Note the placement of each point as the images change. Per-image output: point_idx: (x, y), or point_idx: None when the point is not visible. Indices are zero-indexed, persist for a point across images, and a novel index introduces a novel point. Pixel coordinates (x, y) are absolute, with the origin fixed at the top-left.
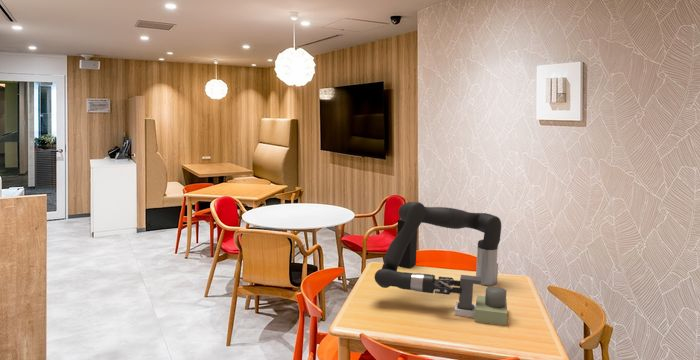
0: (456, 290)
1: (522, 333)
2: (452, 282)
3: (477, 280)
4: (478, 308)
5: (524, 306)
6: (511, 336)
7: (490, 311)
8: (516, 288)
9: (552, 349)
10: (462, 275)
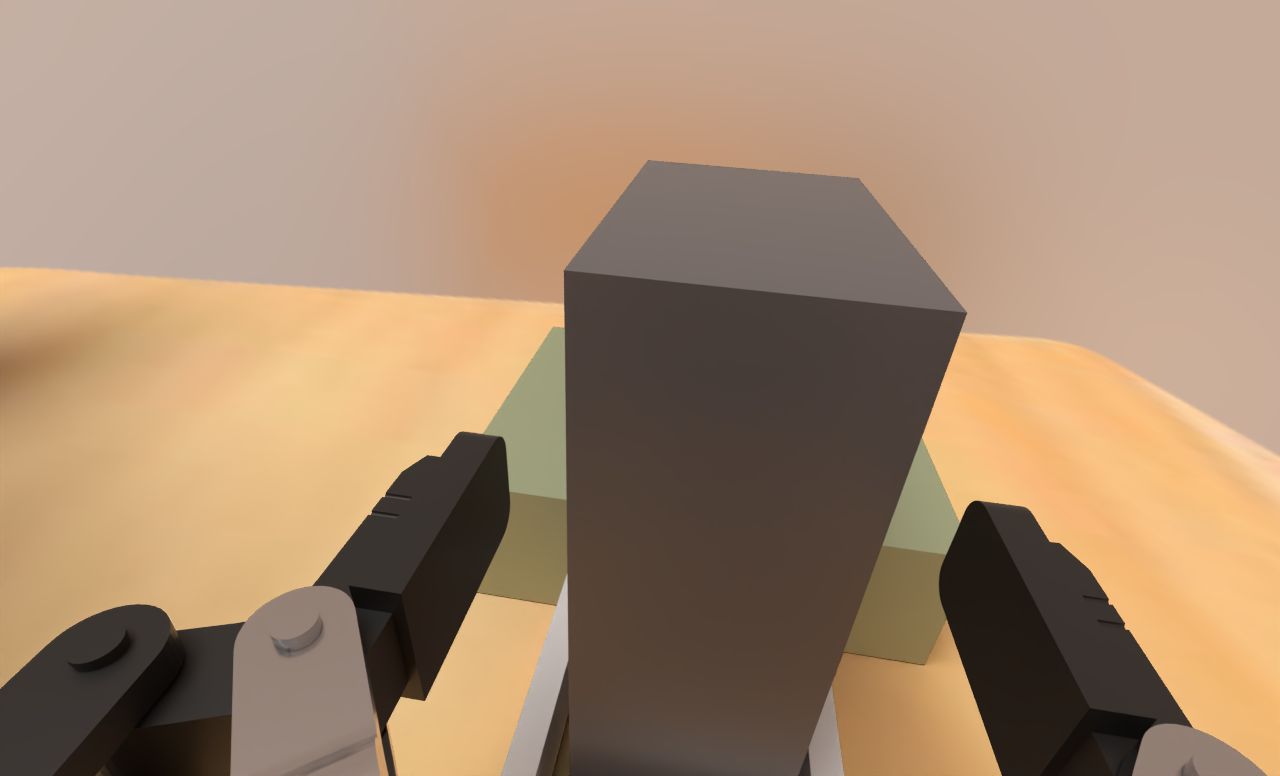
0: (1114, 641)
1: (937, 406)
2: (373, 690)
3: (866, 190)
4: (914, 523)
5: (485, 336)
6: (1038, 457)
7: (924, 444)
8: (150, 315)
9: (1050, 352)
10: (626, 261)
